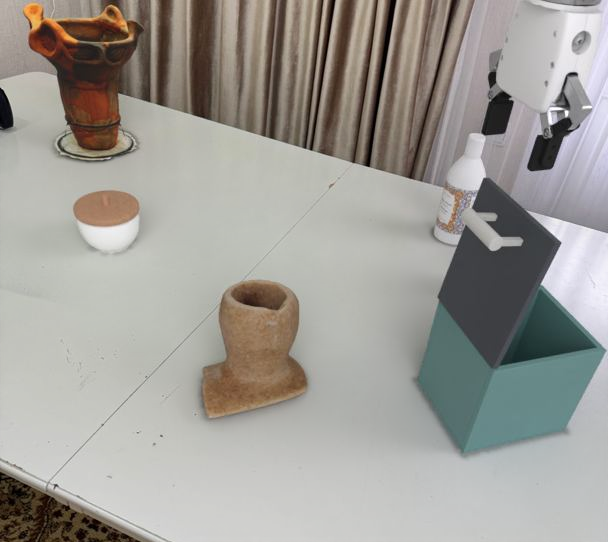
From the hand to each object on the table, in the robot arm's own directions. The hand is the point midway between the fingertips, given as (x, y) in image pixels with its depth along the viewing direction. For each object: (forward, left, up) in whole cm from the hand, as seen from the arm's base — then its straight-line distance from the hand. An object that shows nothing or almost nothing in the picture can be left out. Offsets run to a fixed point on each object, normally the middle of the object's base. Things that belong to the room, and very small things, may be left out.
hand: (514, 150), depth 73 cm
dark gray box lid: (-6, +12, -9) cm, 16 cm away
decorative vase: (+95, -2, -32) cm, 100 cm away
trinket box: (+59, +20, -32) cm, 70 cm away
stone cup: (+17, +27, -32) cm, 45 cm away
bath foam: (+19, -29, -32) cm, 47 cm away
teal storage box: (-9, +6, -32) cm, 34 cm away
